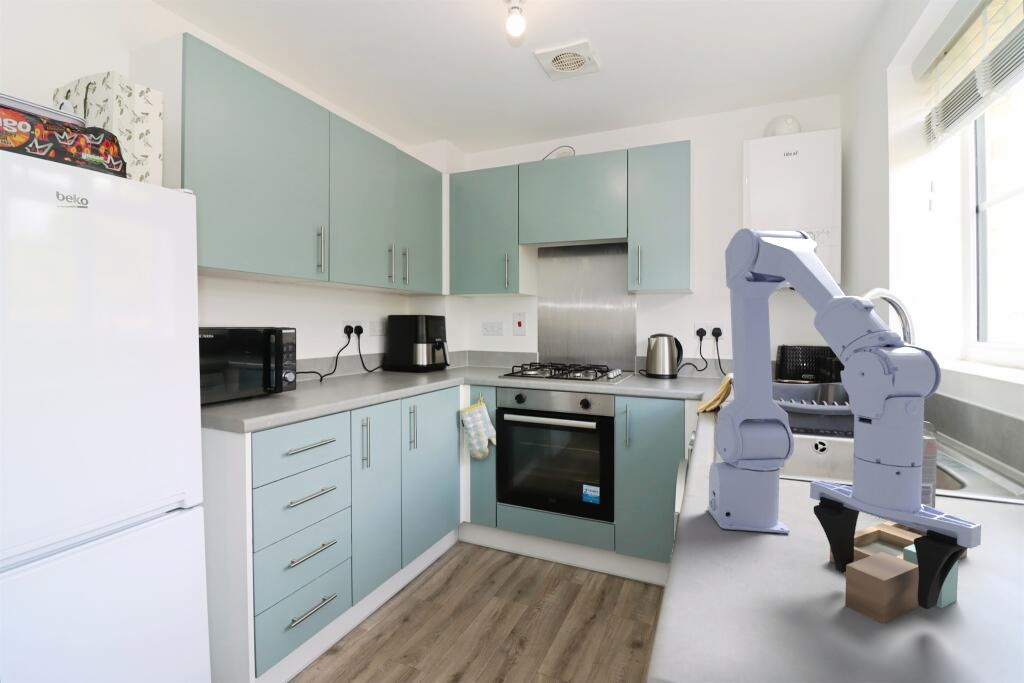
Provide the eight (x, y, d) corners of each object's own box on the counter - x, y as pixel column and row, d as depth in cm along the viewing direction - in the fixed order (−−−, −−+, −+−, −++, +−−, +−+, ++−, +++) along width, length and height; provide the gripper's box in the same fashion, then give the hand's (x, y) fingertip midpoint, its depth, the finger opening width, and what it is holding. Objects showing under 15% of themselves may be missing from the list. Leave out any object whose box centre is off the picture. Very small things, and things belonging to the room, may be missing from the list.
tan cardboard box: (882, 625, 47) (884, 580, 47) (845, 606, 50) (846, 564, 50) (918, 607, 50) (919, 565, 50) (880, 590, 53) (881, 551, 53)
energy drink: (893, 497, 83) (895, 430, 82) (933, 505, 79) (936, 435, 79) (893, 506, 78) (895, 435, 78) (936, 514, 75) (938, 440, 75)
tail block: (941, 608, 49) (943, 562, 49) (902, 591, 53) (903, 548, 52) (956, 600, 51) (958, 555, 51) (917, 584, 54) (919, 542, 54)
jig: (894, 588, 53) (895, 565, 53) (829, 560, 59) (830, 539, 59) (966, 555, 61) (967, 535, 61) (903, 534, 67) (903, 515, 67)
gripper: (996, 473, 45) (992, 613, 45) (835, 441, 58) (832, 549, 58) (963, 483, 41) (958, 633, 42) (800, 447, 54) (797, 561, 55)
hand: (883, 586), depth 50 cm, fingers open, 7 cm apart
